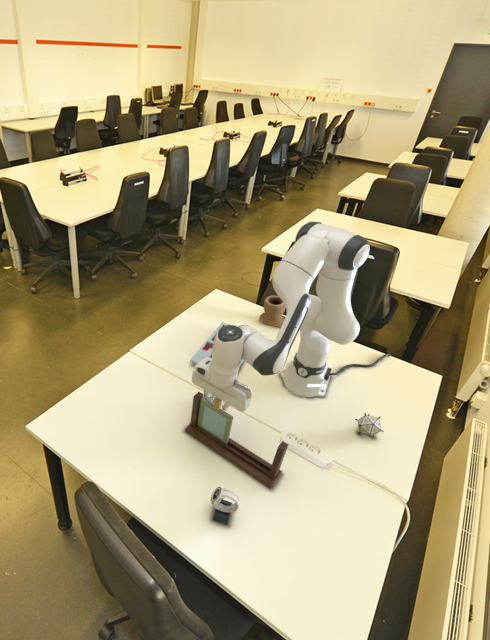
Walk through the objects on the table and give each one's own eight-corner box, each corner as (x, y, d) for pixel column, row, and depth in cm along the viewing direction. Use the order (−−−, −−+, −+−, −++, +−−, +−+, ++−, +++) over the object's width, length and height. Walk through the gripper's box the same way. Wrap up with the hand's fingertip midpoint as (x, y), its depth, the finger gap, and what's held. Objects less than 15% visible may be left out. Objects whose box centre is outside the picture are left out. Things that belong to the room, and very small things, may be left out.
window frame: (196, 420, 145) (201, 387, 135) (280, 474, 128) (293, 441, 118) (185, 431, 141) (188, 398, 131) (270, 489, 123) (282, 455, 113)
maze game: (221, 327, 195) (222, 322, 193) (259, 340, 187) (260, 335, 185) (189, 365, 171) (190, 360, 169) (231, 382, 163) (232, 376, 161)
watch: (210, 501, 119) (215, 480, 113) (236, 510, 117) (242, 489, 111) (206, 517, 115) (210, 496, 109) (233, 527, 113) (239, 506, 107)
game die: (364, 436, 146) (387, 420, 142) (370, 448, 138) (394, 430, 134) (346, 420, 146) (368, 403, 143) (350, 430, 138) (373, 412, 135)
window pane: (198, 424, 141) (203, 388, 130) (228, 443, 134) (236, 407, 124) (196, 427, 140) (201, 391, 130) (225, 446, 134) (233, 410, 123)
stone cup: (256, 325, 197) (261, 299, 188) (261, 314, 206) (267, 289, 197) (286, 333, 192) (293, 307, 183) (290, 321, 201) (298, 296, 192)
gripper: (258, 384, 117) (250, 415, 125) (202, 354, 127) (198, 385, 136) (247, 395, 113) (239, 427, 121) (190, 363, 124) (187, 395, 132)
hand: (217, 404), depth 128 cm, fingers open, 4 cm apart
